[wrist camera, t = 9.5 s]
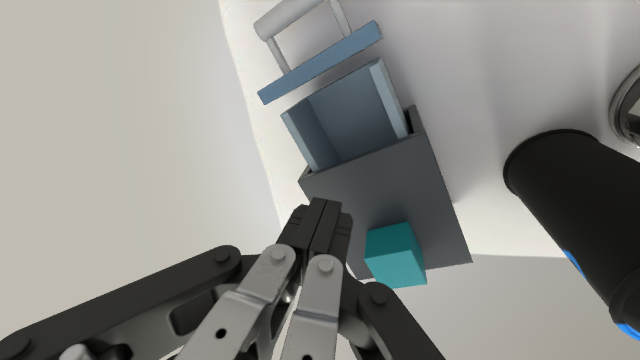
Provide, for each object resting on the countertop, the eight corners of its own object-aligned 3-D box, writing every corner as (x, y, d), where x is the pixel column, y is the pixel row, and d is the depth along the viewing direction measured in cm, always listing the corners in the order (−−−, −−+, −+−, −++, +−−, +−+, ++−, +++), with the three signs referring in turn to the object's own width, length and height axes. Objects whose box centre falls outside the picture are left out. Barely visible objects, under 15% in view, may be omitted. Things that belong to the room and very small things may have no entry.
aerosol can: (522, 123, 24) (825, 317, 7) (622, 133, 23) (1293, 405, 6) (490, 193, 28) (637, 419, 12) (573, 205, 27) (883, 486, 10)
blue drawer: (262, 34, 25) (221, 33, 19) (356, -35, 21) (342, -65, 15) (337, 174, 31) (325, 208, 25) (422, 144, 27) (433, 175, 20)
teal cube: (366, 230, 24) (363, 259, 21) (408, 220, 22) (411, 249, 19) (382, 260, 25) (381, 290, 22) (422, 252, 23) (427, 284, 20)
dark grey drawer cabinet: (320, 145, 31) (296, 181, 23) (415, 104, 26) (425, 132, 18) (364, 227, 35) (357, 280, 28) (452, 206, 30) (473, 262, 23)
